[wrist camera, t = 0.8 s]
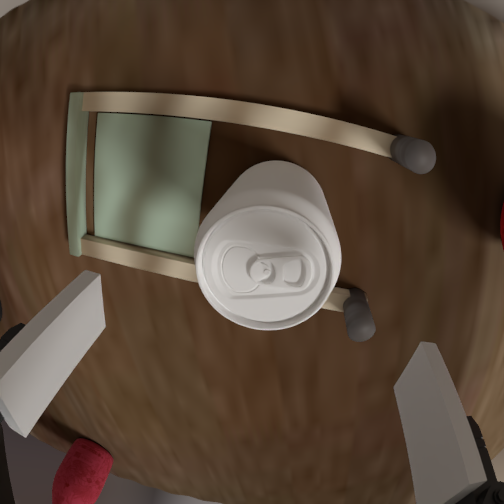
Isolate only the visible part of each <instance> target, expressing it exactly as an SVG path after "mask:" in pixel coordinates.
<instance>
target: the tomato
mask: <svg viewBox="0 0 504 504" xmlns="http://www.w3.org/2000/svg"><path fill="white" fill-rule="evenodd" d="M500 233H501V240H502V246H503V250H504V202H503V207H502V212H501V220H500Z"/></svg>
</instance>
